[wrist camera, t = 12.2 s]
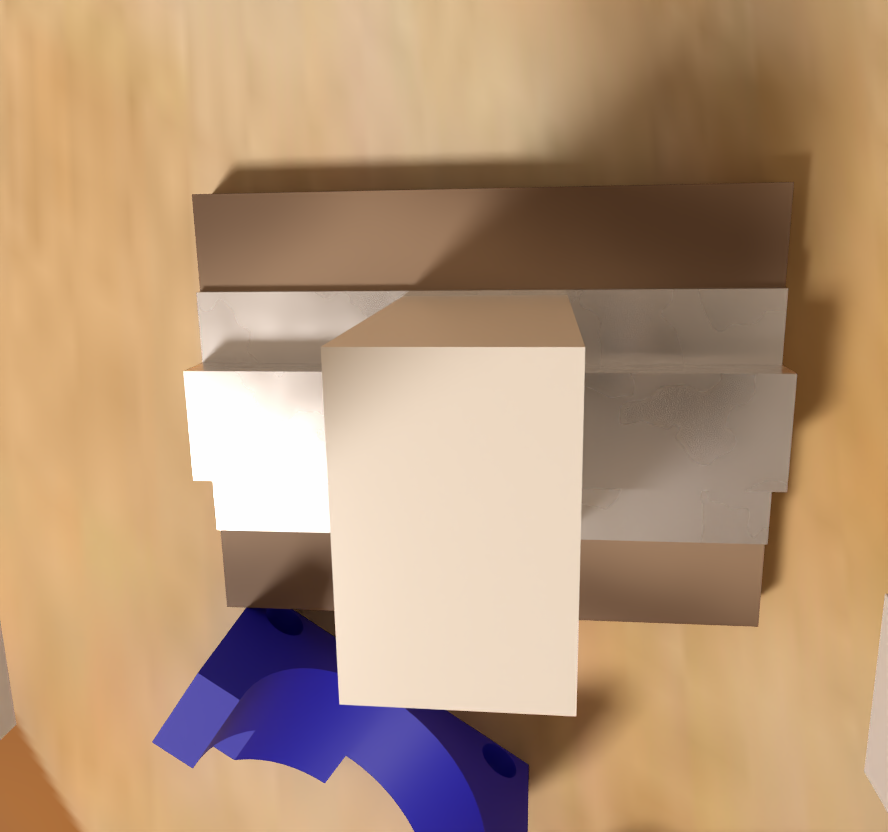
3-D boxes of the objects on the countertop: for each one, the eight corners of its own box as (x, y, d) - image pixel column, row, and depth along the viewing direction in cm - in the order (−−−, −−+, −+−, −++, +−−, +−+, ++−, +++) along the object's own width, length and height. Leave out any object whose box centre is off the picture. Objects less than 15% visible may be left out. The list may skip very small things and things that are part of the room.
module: (400, 295, 26) (315, 346, 16) (567, 294, 25) (585, 347, 15) (407, 530, 27) (334, 704, 18) (562, 534, 27) (576, 716, 17)
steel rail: (764, 540, 26) (781, 563, 25) (220, 526, 28) (199, 546, 27) (785, 287, 24) (804, 293, 23) (200, 291, 26) (176, 296, 25)
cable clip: (204, 672, 32) (130, 775, 26) (262, 586, 31) (197, 672, 25) (462, 841, 32) (445, 977, 27) (528, 761, 31) (526, 886, 25)
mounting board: (747, 605, 29) (758, 626, 27) (242, 587, 31) (227, 606, 29) (779, 183, 25) (793, 182, 24) (210, 195, 27) (192, 194, 26)
